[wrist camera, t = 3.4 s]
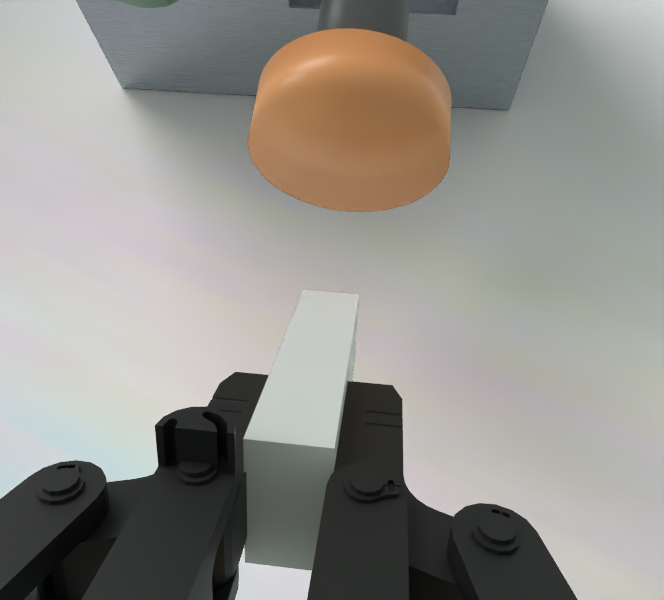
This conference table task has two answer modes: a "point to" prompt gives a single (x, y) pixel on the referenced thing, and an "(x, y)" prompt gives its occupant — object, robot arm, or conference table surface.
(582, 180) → the conference table surface
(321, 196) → the disc
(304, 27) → the box
